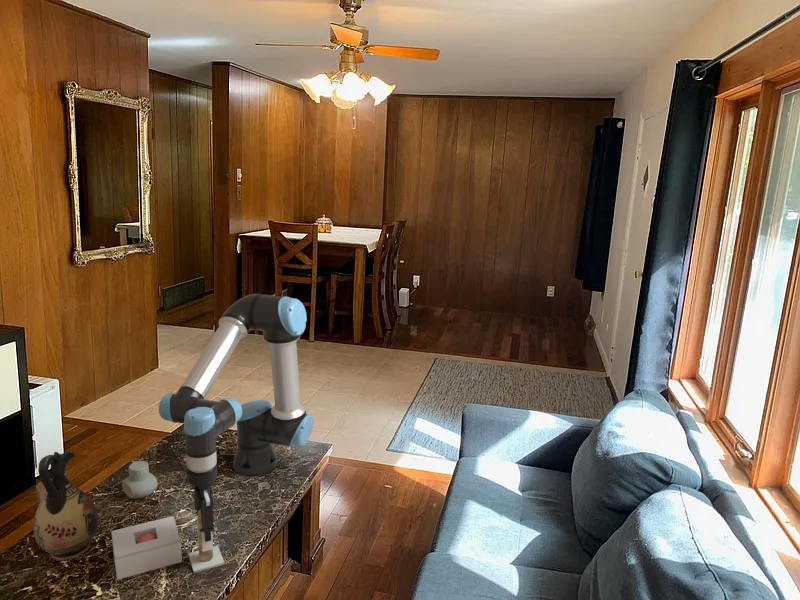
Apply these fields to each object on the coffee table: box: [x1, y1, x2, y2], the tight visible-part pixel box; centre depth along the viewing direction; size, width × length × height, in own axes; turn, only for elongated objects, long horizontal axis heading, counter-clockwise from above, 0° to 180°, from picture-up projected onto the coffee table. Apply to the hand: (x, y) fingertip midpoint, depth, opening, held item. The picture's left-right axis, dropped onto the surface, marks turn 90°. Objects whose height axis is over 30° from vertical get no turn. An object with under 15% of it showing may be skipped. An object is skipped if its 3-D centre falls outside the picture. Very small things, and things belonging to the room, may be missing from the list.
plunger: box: [137, 533, 155, 544], centre depth 163 cm, size 4×4×5 cm
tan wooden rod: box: [197, 510, 213, 562], centre depth 162 cm, size 4×4×14 cm
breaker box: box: [111, 516, 183, 581], centre depth 163 cm, size 16×12×7 cm
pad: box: [187, 544, 225, 574], centre depth 164 cm, size 8×8×1 cm
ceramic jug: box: [33, 451, 99, 562], centre depth 161 cm, size 17×15×30 cm
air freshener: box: [121, 460, 159, 499], centre depth 192 cm, size 11×8×10 cm
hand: (205, 543), depth 163 cm, fingers open, 5 cm apart
